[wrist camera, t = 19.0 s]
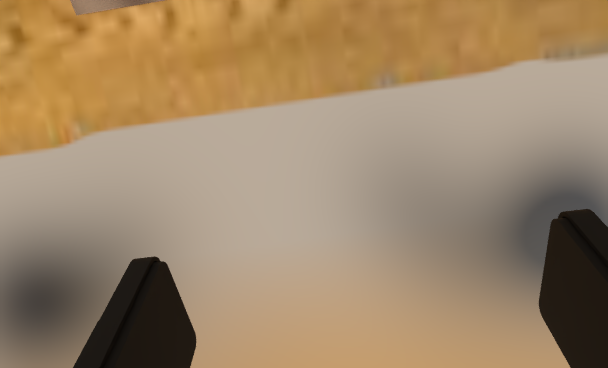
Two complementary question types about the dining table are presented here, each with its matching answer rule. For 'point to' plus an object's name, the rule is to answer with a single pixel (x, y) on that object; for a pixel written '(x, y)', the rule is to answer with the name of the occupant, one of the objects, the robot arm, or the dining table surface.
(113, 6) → the marked board
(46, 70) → the dining table surface
